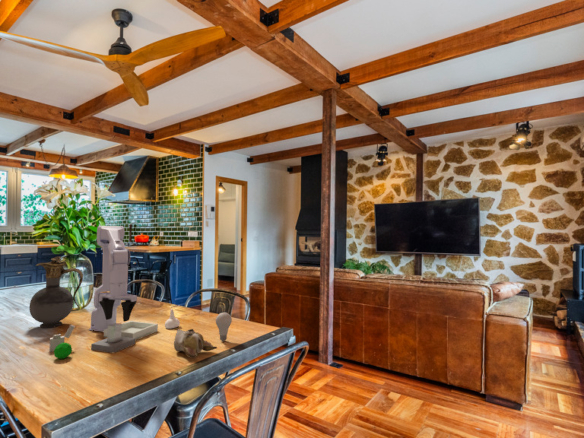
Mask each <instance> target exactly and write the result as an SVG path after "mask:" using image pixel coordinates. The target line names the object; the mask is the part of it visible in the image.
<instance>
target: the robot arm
mask: <svg viewBox="0 0 584 438" xmlns="http://www.w3.org/2000/svg"><path fill="white" fill-rule="evenodd" d="M124 238H125V227H124V226H123V225H98V226H97V229H96V243H97V246H99V247H101V248H102V274H101V275H102V277H101V279H102V280H101V282H102V283H101V285H99V286H98V287H97V288H96V289H95V291H94V295H93V308H94V309H93V310H92V311H91V315H90V328H88V330H89V331H93V330H94V332H95V331H96V332H101V333H104V330H105V329H107V327H108V325H110V324H113V323H117V315H118V314H117V309H118V307H119V306H121V307H122V308H121V309H122V320H123V322H129V321H130V318H131V314H132V312H133V309H134V307H135V306H136V305H137V301H138V295H137V294H136V295H135V294H131V293H130V294H129V293H128V280H129V279H128V275H129V265H130V262H131V251H130V249H128V248H126V246H125V243H124Z"/></svg>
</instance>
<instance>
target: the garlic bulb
mask: <svg viewBox="0 0 584 438" xmlns="http://www.w3.org/2000/svg"><path fill="white" fill-rule="evenodd" d="M169 312H170V314H169V318H168V319H166V320H165V323H164V327H165V328H166V329H169V330H170V329H175V328H179V326H180V323H181V322H180V320H179V318H177V317H175V312H174V309H173V308H171V309H170V311H169Z"/></svg>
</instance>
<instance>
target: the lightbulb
mask: <svg viewBox="0 0 584 438" xmlns="http://www.w3.org/2000/svg"><path fill="white" fill-rule="evenodd" d="M232 319H233V318H232V316H231V315H230V314H229V313H228V312H226V311H225V312H220V313H219V314H218V315H217V316H216V318H215V325H216V327H217V328H218V333H219V334H218V335H219V340H220V341H221V342H225V341H226V340H227V337H228V332H229V328H230V326H231V324H232V322H233V321H232Z"/></svg>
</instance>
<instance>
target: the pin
mask: <svg viewBox="0 0 584 438" xmlns="http://www.w3.org/2000/svg"><path fill="white" fill-rule="evenodd" d="M122 324H123V323H117V322H116V323H113V324H110V325H108V327H107V343H112V344H115V343H117V342H120V341H121V327H122Z"/></svg>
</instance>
